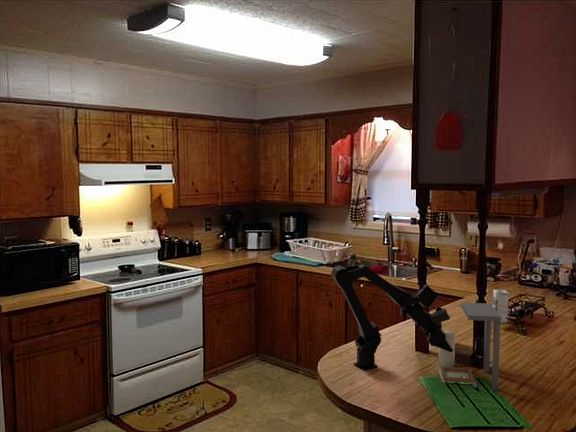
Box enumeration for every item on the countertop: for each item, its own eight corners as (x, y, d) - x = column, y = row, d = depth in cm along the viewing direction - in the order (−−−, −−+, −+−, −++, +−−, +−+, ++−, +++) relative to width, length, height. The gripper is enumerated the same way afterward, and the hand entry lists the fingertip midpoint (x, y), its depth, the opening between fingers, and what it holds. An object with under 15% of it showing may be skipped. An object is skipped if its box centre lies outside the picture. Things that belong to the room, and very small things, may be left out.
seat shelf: (443, 386, 170) (444, 314, 168) (438, 367, 186) (439, 301, 184) (498, 390, 167) (501, 316, 165) (488, 370, 183) (490, 303, 180)
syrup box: (491, 319, 244) (492, 289, 243) (504, 319, 243) (505, 289, 242) (494, 322, 238) (495, 292, 237) (508, 323, 238) (509, 292, 236)
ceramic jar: (435, 363, 190) (435, 332, 189) (446, 360, 193) (446, 329, 192) (446, 368, 185) (447, 336, 184) (457, 365, 188) (458, 333, 187)
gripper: (438, 308, 178) (471, 341, 177) (433, 295, 197) (463, 324, 196) (415, 329, 181) (447, 361, 180) (412, 314, 199) (441, 343, 198)
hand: (450, 347), depth 188 cm, fingers open, 9 cm apart
